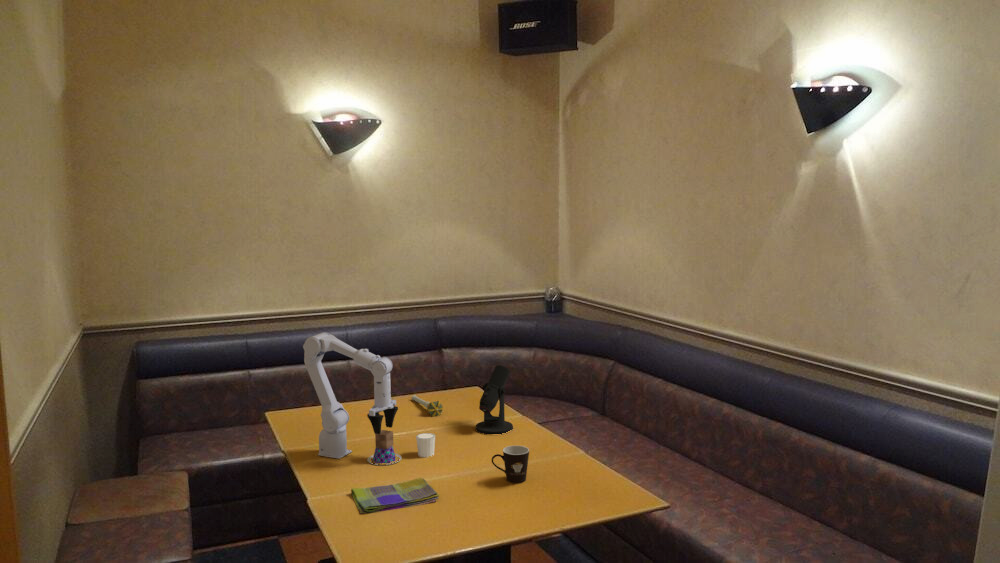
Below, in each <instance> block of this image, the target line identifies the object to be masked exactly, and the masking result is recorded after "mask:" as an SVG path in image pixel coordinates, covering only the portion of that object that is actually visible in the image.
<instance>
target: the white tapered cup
mask: <svg viewBox="0 0 1000 563" xmlns="http://www.w3.org/2000/svg"><path fill="white" fill-rule="evenodd" d="M415 438H416V447H417V456H418V457H420V458H430V457H429V456H431V457H433V456H434V455H435V445H436V434H434V433H432V432H431V433H430V432H423V433H419V434H417V435H416V437H415ZM432 455H433V456H432Z"/></svg>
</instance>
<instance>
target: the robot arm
mask: <svg viewBox="0 0 1000 563" xmlns="http://www.w3.org/2000/svg"><path fill="white" fill-rule="evenodd" d="M302 348H303V351H304V353H303V354H304V357H303V361H304V365H305V368H306V370H307V373H308V375H309V378H310V381H311V383H312V386H313V388H314V390H315V391H316V395H317V397H318V401H319V402H320V405H321V407H322V409H321V412H320V417H321V426H322V429H321V431H320V432H319V433H318V434H319V435H318V451H319V452H318V453H317V456H322V457H327V458H333V459H339V460H340V459H342V458H343V457H346V456H347V455H348V454H350V453H352V452H353V450H351V449H348V444H347V443H348V442H347V441H348V440H347V438H348V437H347V436H348V435H347V424H348V423H349V422H350V415H349V412H348V411H347V410H346V408H344V406H343V404H342V403H340V402H339V401H337V398H336V395H335V393H334V391H333V388H332V385H331V383H330V381H329V378H328V376H327V373H326V371H325V368H324V366H323V363H322V360H323V358H324V355H325V353H327V352H332V351H334V352H336V353H339V354H341V355H344V356H346V357H348V358H351V359H353V362H354V364H355V365H358V366H360V367H362V368H364V369H366V370H368V371H370V372H371V374H372V375H373V391H374V392H373V395H374V396H373V397H374V402H373V403H374V405H372V407H371V408H370V409H369V410H368V413H367V418H368V420H369V422H370V424H371V427H372V430H373V432H374V435H375V434H380V433H381V430H382V422H383V420H385V426H386V428H391V429H392V428H393V426H394V421H395V417H396V414H397V412H398V410H399V407H398V406H397V399H392V394H391V393H392V390H391V386H392V385H391V383H392V382H391V372H392V370H393V367H394V365H393V362H392V360H391V359H390V358H389V357H388V356H382V357H381V355H379V354H377V355H376V354H374V353H372V352H370V351H369V348H360V349H357V348H355V347H353V346H351V345H349V344H348V343H346V342H344V341H342V340H341V339H339V338H337V337H336V336H335V335H333V334H330V333H329V332H326V331H325V332H324V331H323V332H320V333H318V334H316V335H313V336H309V337H307V338H306V339H305V342H304V343H303V345H302ZM381 412H383V414H380V413H381Z"/></svg>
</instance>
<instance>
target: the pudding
mask: <svg viewBox="0 0 1000 563" xmlns="http://www.w3.org/2000/svg"><path fill="white" fill-rule="evenodd" d="M393 446H394V445H393ZM393 446H391V447H390V448H388V449H382V448H376V447H375V448H374V454H373V455H370V456H369V457H368V458H367V460H366V461H367V462H368V463H369V464H372V465H376V466H379V465H378V464H379V463H381V464H382V463H385V464H386V465H385V466H387V465H388V466H389V465H390V464H391V463H392V464H391V465H393V464H396V463H398V462H400V461H401V460H402V456H401V455H400V454H399V453H395V450H394V447H393ZM395 455H396V456H397V457H399V458H400V459H399V461H397V460H396V459H397V457H396V456H395ZM371 458H372V460H371ZM395 458H396V459H395ZM370 460H371V462H372V461H373V460H374V461H373V463H375V462H376V463H375V464H373V463H371V462H370ZM392 461H393V462H392ZM396 461H397V462H396ZM390 462H391V463H390ZM394 462H395V463H394Z"/></svg>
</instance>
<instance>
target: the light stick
mask: <svg viewBox="0 0 1000 563" xmlns="http://www.w3.org/2000/svg"><path fill="white" fill-rule="evenodd" d="M411 400H412V401H415V402H417V403H419V404H421V405H422V406H424V407H425V408H426V409H427V412H428V413H429V415H430V417H432V418H435V417H438V415H439V417H440V416H442V415H441V414H442V413H443V410H444V407H443V405H442V403H441V401H439V400H437V401H426V400H425V399H422V398H420V397H418V396H417V395H415V394H414V395H413V394H412V396H411Z"/></svg>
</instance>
